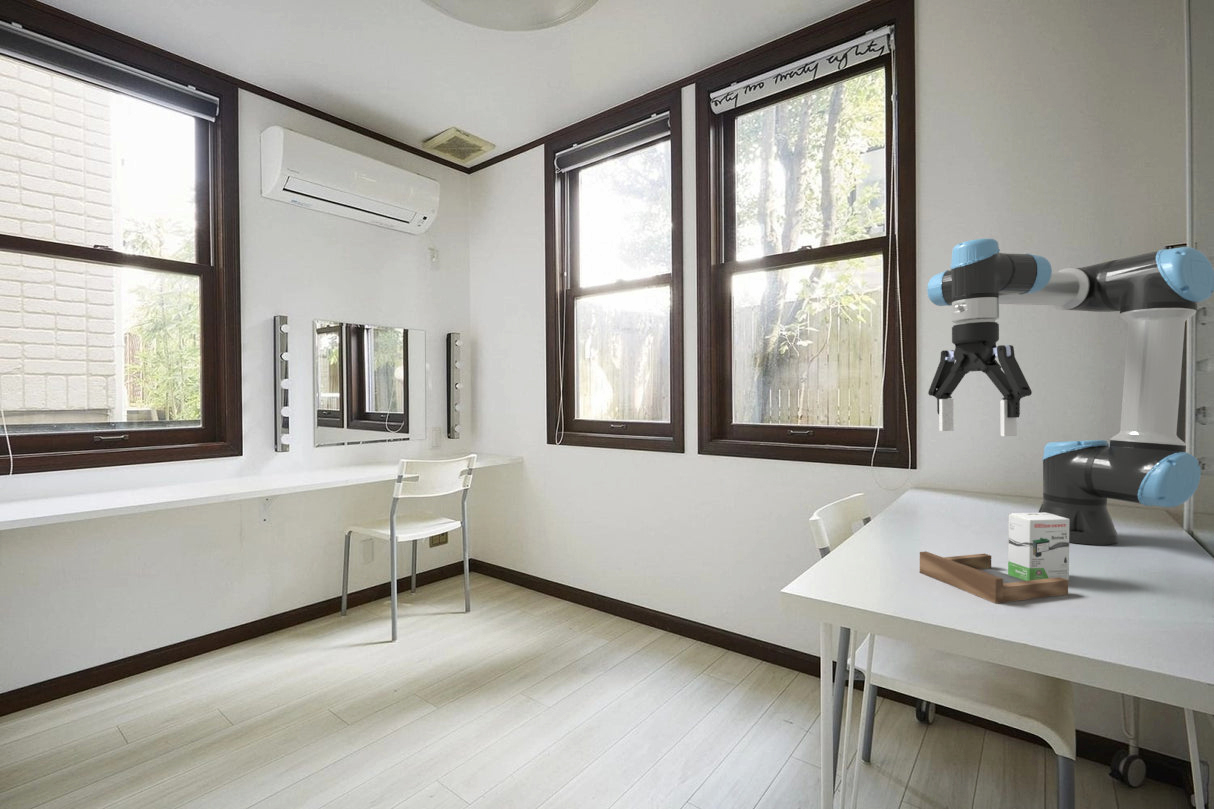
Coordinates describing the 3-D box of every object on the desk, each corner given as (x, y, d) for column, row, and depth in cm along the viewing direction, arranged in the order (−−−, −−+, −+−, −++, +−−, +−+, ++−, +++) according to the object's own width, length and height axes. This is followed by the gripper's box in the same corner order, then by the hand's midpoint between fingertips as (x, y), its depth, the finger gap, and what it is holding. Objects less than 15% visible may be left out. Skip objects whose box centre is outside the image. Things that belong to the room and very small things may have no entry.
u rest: (984, 565, 110) (984, 546, 110) (1068, 594, 94) (1068, 571, 94) (919, 572, 106) (919, 552, 106) (995, 603, 91) (995, 579, 91)
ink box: (1029, 583, 100) (1030, 519, 100) (1006, 574, 105) (1006, 513, 104) (1071, 580, 101) (1071, 517, 101) (1045, 572, 106) (1046, 511, 106)
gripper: (908, 330, 116) (909, 429, 117) (1021, 313, 92) (1021, 439, 93) (938, 330, 118) (939, 428, 119) (1056, 313, 94) (1057, 437, 94)
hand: (975, 433), depth 106 cm, fingers open, 13 cm apart
